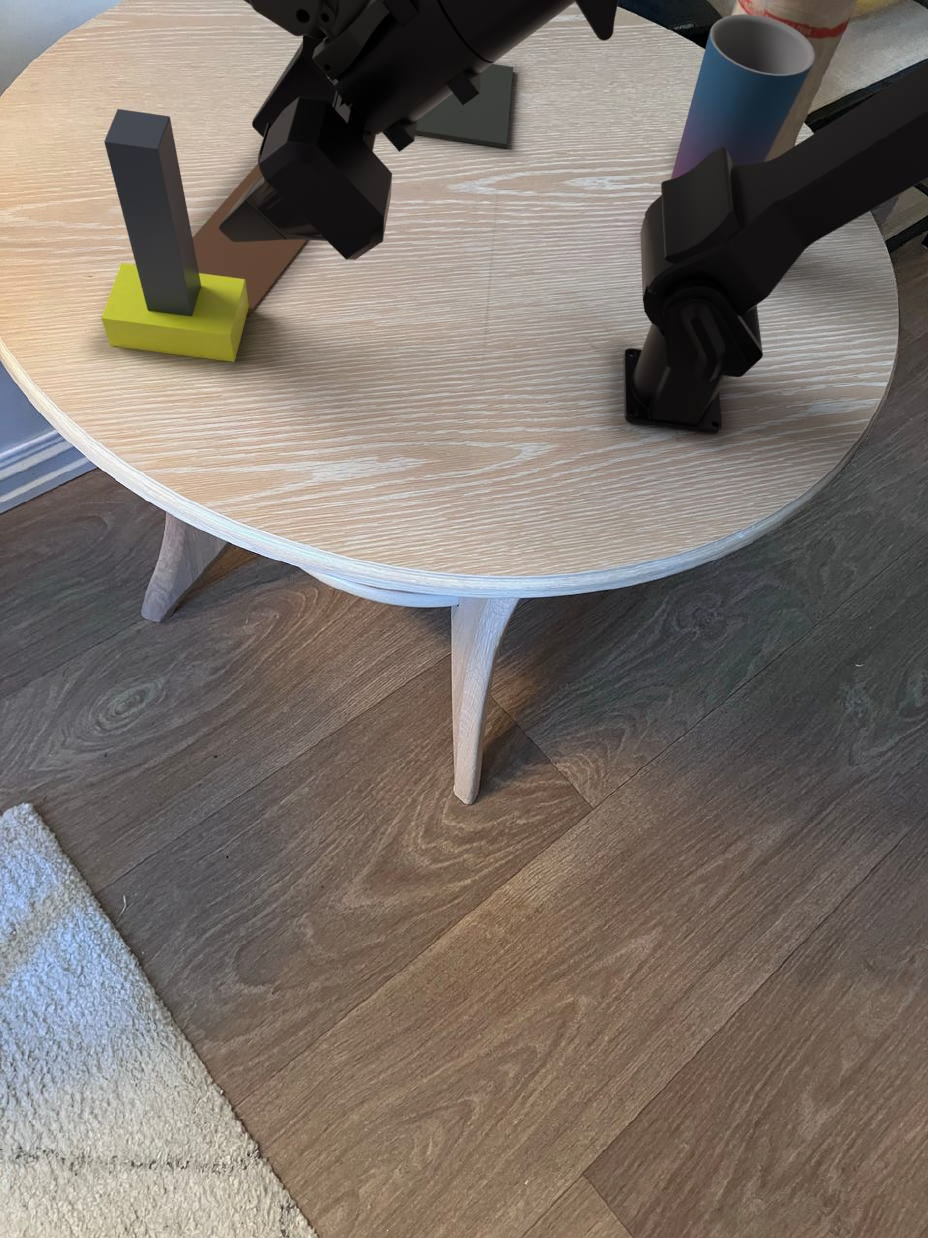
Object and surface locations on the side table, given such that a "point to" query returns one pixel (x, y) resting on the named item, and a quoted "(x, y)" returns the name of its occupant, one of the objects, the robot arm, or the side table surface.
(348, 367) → the side table surface
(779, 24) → the cup
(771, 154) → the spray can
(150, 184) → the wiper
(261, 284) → the brown rectangular board
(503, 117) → the mat
